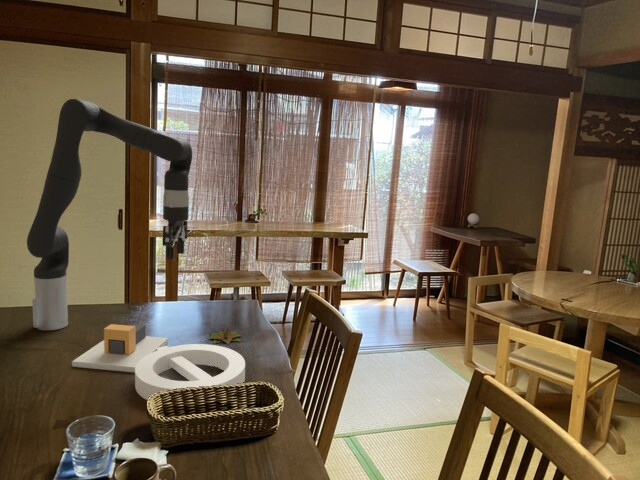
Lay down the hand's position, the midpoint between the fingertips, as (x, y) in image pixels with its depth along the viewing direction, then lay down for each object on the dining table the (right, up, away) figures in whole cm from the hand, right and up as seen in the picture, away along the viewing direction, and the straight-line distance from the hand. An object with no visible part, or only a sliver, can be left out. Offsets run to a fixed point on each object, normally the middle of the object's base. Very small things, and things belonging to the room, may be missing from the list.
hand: (175, 256), depth 153 cm
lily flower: (+14, -28, +8) cm, 32 cm away
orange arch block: (-13, -27, -11) cm, 32 cm away
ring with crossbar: (+11, -33, -23) cm, 41 cm away
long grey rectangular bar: (-12, -26, -6) cm, 30 cm away
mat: (-13, -28, -9) cm, 32 cm away
